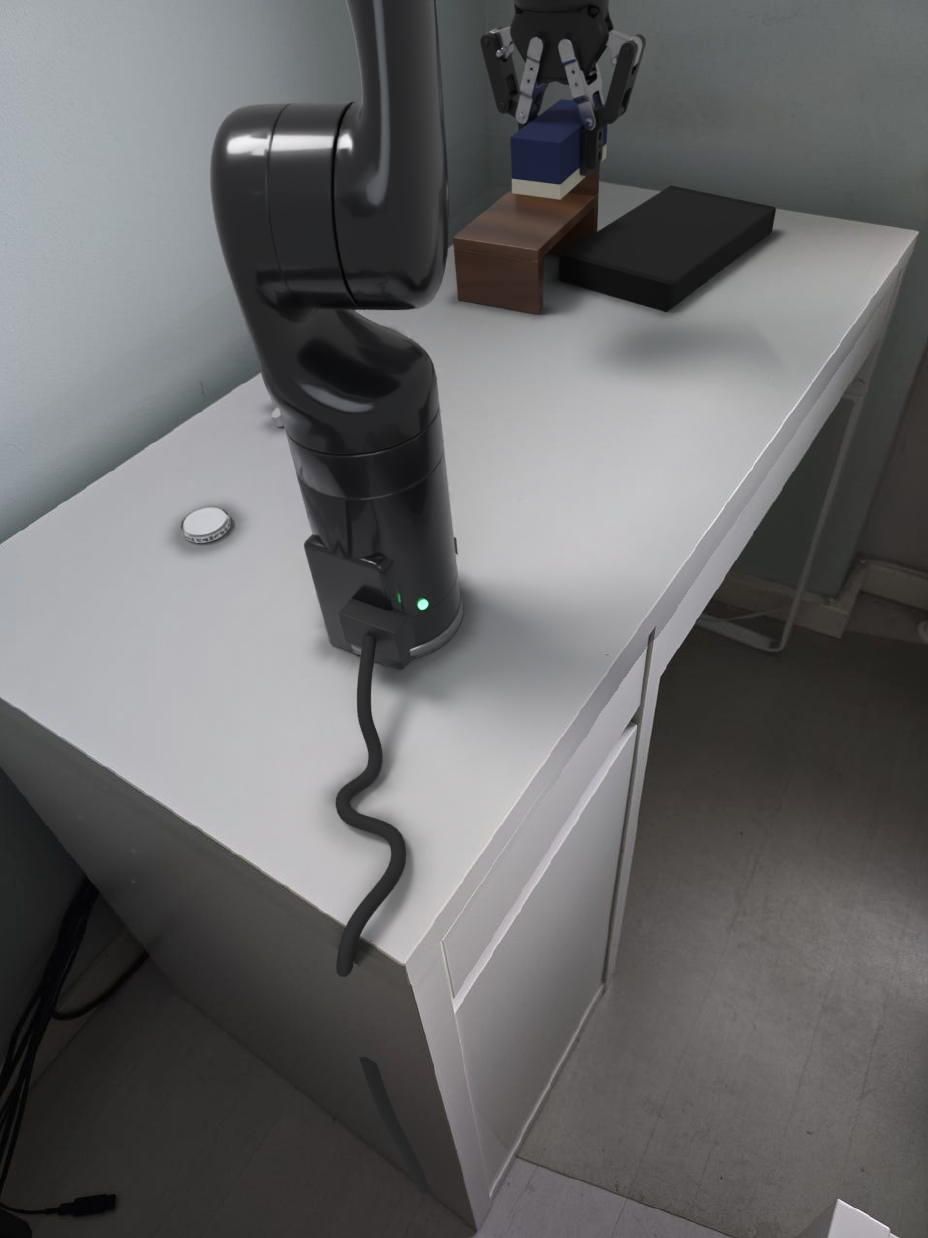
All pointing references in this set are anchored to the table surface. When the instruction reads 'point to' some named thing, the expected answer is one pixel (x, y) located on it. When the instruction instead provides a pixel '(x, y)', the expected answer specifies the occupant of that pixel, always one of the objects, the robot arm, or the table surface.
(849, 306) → the table surface
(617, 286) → the external hard drive
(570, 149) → the whiteboard eraser
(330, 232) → the robot arm
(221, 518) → the white bottle cap
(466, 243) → the shelf
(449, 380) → the table surface
